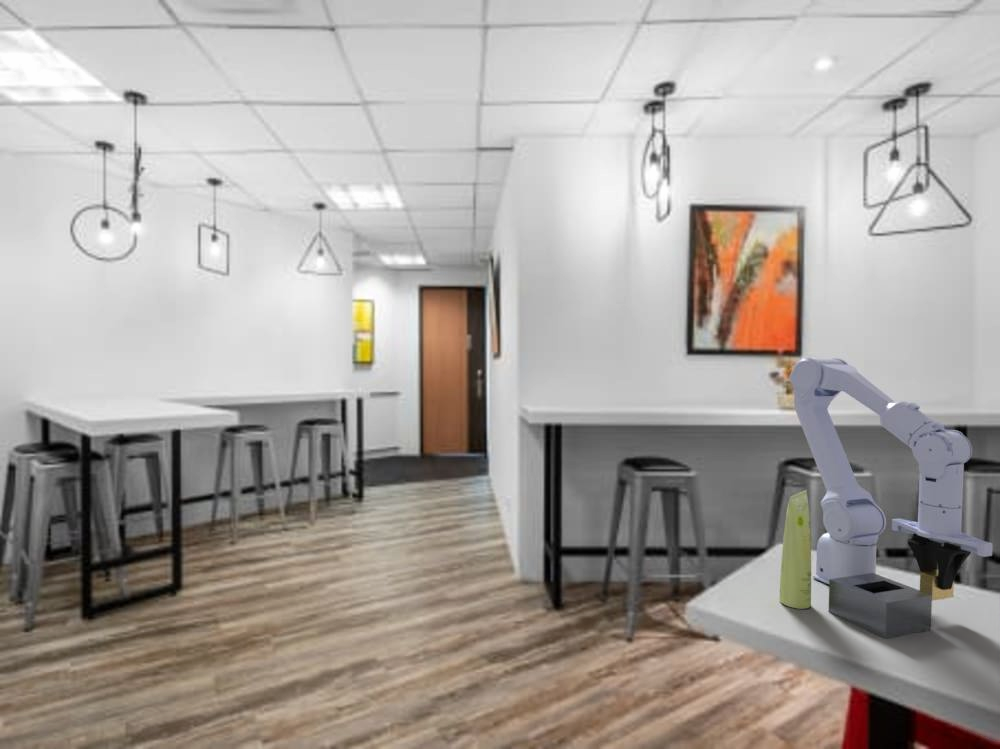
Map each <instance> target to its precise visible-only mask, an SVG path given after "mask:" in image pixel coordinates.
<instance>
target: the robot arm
mask: <svg viewBox="0 0 1000 749" xmlns="http://www.w3.org/2000/svg"><path fill="white" fill-rule="evenodd" d="M788 379H789V381H790V384H791V386H792V388H793V393H794V394H793V401H794V403H793V404H794V410H795V412H796V415H797V417H798V420H799V423H800V425H801V428H802V431H803V433H804V436H805V439H806V441H807V443H808V447H809V449H810V451H811V454H812V456H813V459H814V462H815V465H816V468H817V470H818V472H819V474H820V477H821V480H822V484H823V485H824V488H825V490H826V493H825V495H824V496H823V498H822V500H821V501H820V506H821V508H822V513H823V516H822V517H823V518H822V522H823V527H824V528H825V530H826V533H825V532H824V533H823V534H822V535H821V536H820V537H819V539H818V541H817V545H816V564H815V566H816V568H815V571H816V572H815V574H813V575H812V578H813V579H814V580H818V581H820V582H822V583H824V584H827V585H829V579H834V578H841V577H848V576H855V575H862V574H868V573H874V574H876V573H877V572H876V570H877V541H879V535H880V534H882V533H883V532H884V531H885V529H886V526H887V518H886V514H885V513H884V511H883V510H882V508H881V507H879V505H878V504H876V501H875V500H874V498H873V497H872V494H871V493H870V492H869V491H867V490H866V489H864V488H863V487H862V486H860V485H859V483H858V481H857V479H856V476H855V473H854V471H853V469H852V467H851V465H850V461H849V459H848V457H847V453H846V452H845V449H844V447H843V445H842V442H841V439H840V437H839V435H838V433H837V430H836V428H835V426H834V423H833V420H832V418H831V415H830V413H829V410H828V408H829V406H830V405H831V402H832V401H834V400H835V398H836V397H837V396H838V395H840V393H842V392H844V393H845V394H847V395H848V396H850V397H851V398H853V399H854V400H856V401H857V402H859V403H860V404H862V405H863V406H865V407H866V408H868V409H870V411H873V412H874V413H875V414H876V415H879V418H880V419H879V420H880V421H879V422H880V426H882V427H883V428H884V429H885V430H886V431H888V432H889V433H891V434H892V435H893V436H895V438H897V439H899V440H900V441H901V442H902V443H903V444H905V445H906V446H908V447H909V448H910V449H911V451H912V455H913V458H914V459H915V460H916V462H917V463H918V472H919V480H918V481H919V482H918V483H919V485H918V486H919V487H918V510H917V511H918V513H917V521H912V520H908V519H903V518H892V519H891V530H892V531H895V532H902V533H904V534H909V535H912V537H911V538H908V539H907V545H908V546H909V548H910V550H911V551H912V553H913V556H914V557H915V560H916V563H917V565H918V569H919V572H924V571H931V570H938V586H939V589H942V590H947V589H951V588H952V585H953V582H954V583H955V578H956V576H957V574H958V572H959V570H960V568H961V566H962V565H963V563H964V562H965V561H966V560H967V558H968V557H969V556H971V554H972V553H974V554H976V555H977V556H980V557H982V558H985V557H992V556H993V548H994V547H993V544H994V543H991V542H988V541H985V540H982V539H980V538H977V537H975V536H971V535H969V534H967V533H964V532H962V524H963V522H962V521H963V520H962V519H963V518H962V517H963V495H964V470H965V469H964V468H965V465H964V464H965V463H967V462H968V461H969V460H970V459H971V458H972V455H973V446H972V443H971V441H970V439H968V437H967V436H966V435H965V434H963V431H962V432H961V431H959V430H956V429H945V425H944V424H943V423H942V422H941V421H936V420H934V419H932V418H931V417H929V416H928V415H926V414H925V413H924V412H922V411H921V410H920V408H921V406H919V405H918V404H917V403H916V402H908V401H905V400H904V401H903V400H902V401H901V400H900V401H894V400H893V399H892V398H890V396H888V395H887V394H886V393H885V392H883V391H882V389H881V390H880V388H878V387H877V386H876V385H874V384H873V383H872V382H871V381H870V380H868V379H867V378H865V377H864V376H863V375H862V373H860V372H859V371H858V369H857V368H856V367H855V366H853V365H851V364H849V363H848V361H847V362H846V361H845V360H843V359H842V358H838V357H837V358H812V357H803V358H801V359H799V360H798V361H797V362H795V364H794V366H793V368H792V370H791V373H790V375H789V376H788ZM942 544H943V545H942Z"/></svg>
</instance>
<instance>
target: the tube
mask: <svg viewBox="0 0 1000 749" xmlns="http://www.w3.org/2000/svg"><path fill="white" fill-rule="evenodd" d="M810 518H811V517H810V506H809V499H808V491H807V489H805V490H803V491H800V492H798V493H796V494H793V495H791V496H789V500H788V503H787V508H786V515H785V523H784V532H783V539H782V550H781V551H782V552H781V565H780V582H779V602H780V603H781V604H782V605H785V606H786V607H790V608H793V609H799V610H802V609H803V610H806V609H808V608H810V607H811V606H812V542H811V522H810Z"/></svg>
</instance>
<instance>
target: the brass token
mask: <svg viewBox="0 0 1000 749" xmlns="http://www.w3.org/2000/svg"><path fill="white" fill-rule="evenodd" d="M919 572H920V571H919ZM919 576H920V577H919V590H920V591H922V592H925V593H928V594H931V595H932V602H933V601H938V600H945V599H950V598H954V590H955V588H954V587H955V581H954V582H953V585H952V588H951V589H947V590H942V589H939V586H938V569H937V570H931V571H924V572H920V575H919Z"/></svg>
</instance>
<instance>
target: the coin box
mask: <svg viewBox="0 0 1000 749" xmlns="http://www.w3.org/2000/svg"><path fill="white" fill-rule="evenodd" d="M932 605H933V601H932V595H931V594H928V593H925V592H922V591H920V589H917V588H914V587H911V586H909V585H906V584H903V583H900V582H897V581H895V580H893V579H890V578H887V577H885V576H882V575H879V574H874V573H868V574H862V575H855V576H848V577H841V578H834V579H829V584H828V612H829V613H831V614H833V615H836V616H838V617H840V618H842V619H844V620H846V621H848V622H849V623H850V622H851V623H852V624H854V625H856V626H858V627H860V628H862V629H864V630H867V631H869V632H871V633H873V634H875V635H877V636H879V637H882V638H884V639H889V638H894V637H895V638H896V637H900V636H905V635H910V634H914V633H920V632H925V631H931V630H932V612H933V611H932Z"/></svg>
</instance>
